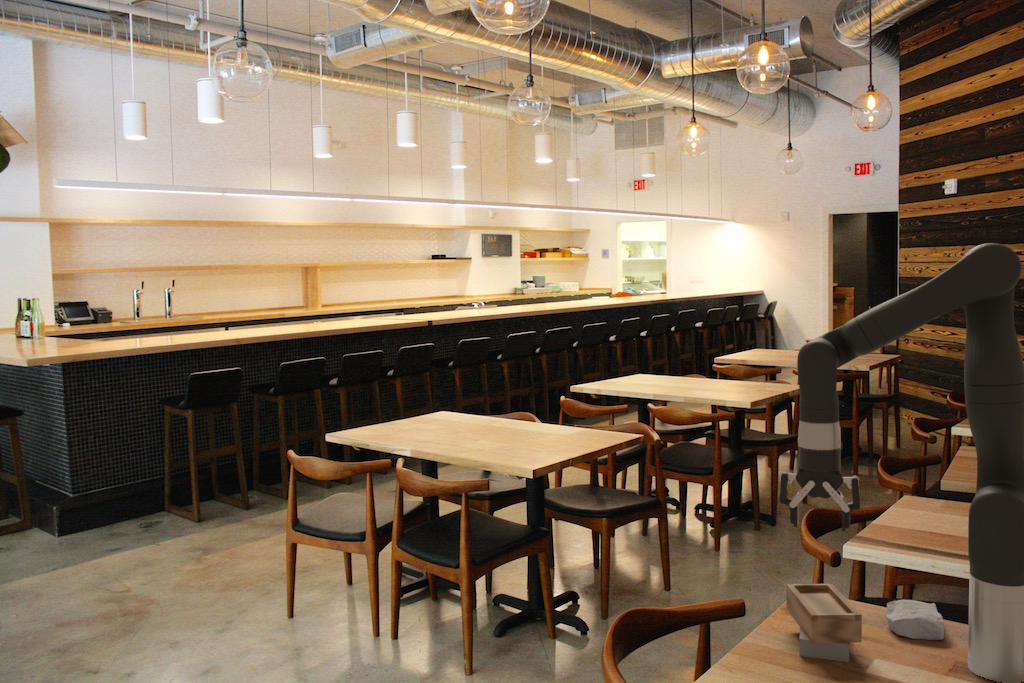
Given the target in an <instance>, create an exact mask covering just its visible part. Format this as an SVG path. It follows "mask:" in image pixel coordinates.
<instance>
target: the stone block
mask: <svg viewBox="0 0 1024 683" xmlns="http://www.w3.org/2000/svg"><path fill="white" fill-rule="evenodd" d="M885 619H886V620H887V624H888V627H889V629H890V630H891V631H892V632H893V633H895V634H896V635H898V636H900V637H901V636H903V637H906V638H909V639H911V640H912V639H914V640H928V641H943V640H944V638H945V633H944V632H945V622H944V617H943V616H942V614H941V613H940V612H938V609H937V605H936V604H935V603H934V602H933V603H928V602H924V601H918V600H915V599H898V600H893V601H889V602H887V603H886V610H885Z"/></svg>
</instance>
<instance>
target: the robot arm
mask: <svg viewBox="0 0 1024 683" xmlns="http://www.w3.org/2000/svg"><path fill="white" fill-rule="evenodd" d="M1022 270H1023V268H1022V261H1021V259H1020V257H1019V255H1018V254H1017V253H1016V251H1014V250H1013V249H1012V248H1011V247H1009V246H1007V245H1005V244H1001V243H994V242H987V243H981V244H979V245H976V246H974V247H972V248H970V249H969V250H968V251H967V252H965V253H964V255H963V256H962V257H961V258H960V259H959V260H958V261H956V262H955V263H954V264H952V265H951V266H949V268H947V269H946V270H944V271H943V272H942V273H940V274H938V275H937V276H935V277H934V278H932V279H930V280H928V281H926V282H924V283H923V284H921V285H920V286H917V287H915V288H913V289H911V290H909V291H907V292H905V293H902V294H899V295H898V296H895V297H893V298H891V299H888V300H886V301H884V302H883V303H879V304H878V305H876V306H874V307H872V308H869V309H868V310H866V311H864V312H862V313H861V314H859V315H857V316H855V317H853V318H852V319H850V320H848V321H847V322H846V323H843V325H841V326H839V327H837V328H834V329H832V330H829V331H828V332H826V333H824V334H821V335H819V336H817V337H815V338H813V339H810V340H809V341H807V342H806V343H805V344H804V345H803V346H802V347H800V349H799V351H798V353H797V357H796V358H797V361H796V364H797V368H796V369H797V379H798V388H799V420H798V421H799V422H798V423H799V424H798V429H797V430H798V431H797V432H798V433H797V434H798V435H797V436H798V437H797V447H798V454H797V455H798V458H797V459H798V461H797V462H798V466H797V467H798V468H797V473H796V472H795V473H792V472H789V471H788V470H783V471H782V473H781V475H780V486H779V488H780V490H779V503H780V504H781V505H786V506H788V507H789V522H790V524H792V525H793V527H794V528H799V525H800V523H799V519H800V518H799V517H800V516H799V514H800V513H799V512H800V511H799V504H800V503H801V502H802V501H803V499H804V498H805V497H806V496H808V497H810V498H822V499H827V500H828V499H829V498H832V499H833V501H834V502H835V503H836V504H837V505H838V506H839V507H840V509H841V532H847V530H848V529H850V526H851V512H852V511H855V510H856V511H858V510H860V509H861V491H860V490H861V489H860V478H859V476H858V475H856V474H854V475H852V476H843V475H842V471H841V470H842V462H841V461H842V459H841V458H842V457H841V456H842V455H841V454H842V453H841V452H842V451H841V450H842V449H841V448H842V447H841V445H842V442H841V441H842V440H841V428H840V427H841V426H840V401H839V395H838V393H837V388H838V386H837V384H838V383H837V382H838V381H837V380H838V375H837V374H838V368H841V367H842V366H844V365H846V364H848V363H849V362H851V361H854V360H855V359H857V358H858V357H861V356H866V355H868V354H870V353H871V354H872V353H873V352H876V351H878V350H879V349H881V348H884V347H885V346H887V345H889V344H891V343H893V342H895V341H898V340H899V339H901V338H903V337H905V336H906V335H908V334H910V333H912V332H914V331H915V330H917V329H918V328H920V327H923V326H925V325H927V323H930V322H931V321H933V320H935V319H937V318H939V317H942V316H943V315H945V314H947V313H950V312H952V311H955V310H957V309H959V308H962V307H963V308H964V309H963V310H964V315H965V326H966V332H965V345H964V356H963V357H964V361H963V383H964V400H965V401H964V402H965V410H966V415H967V420H968V425H969V428H970V431H971V436H972V439H973V443H974V447H975V452H976V462H977V464H976V484H975V486H976V487H975V493H974V495H975V496H974V497H973V499H972V501H971V503H970V506H969V509H968V522H967V523H968V531H967V532H968V533H967V534H968V539H967V540H968V542H967V543H968V544H967V545H968V546H967V547H968V549H967V554H968V556H967V557H968V561H969V575H968V576H969V585H968V586H969V587H968V588H969V589H968V629H967V630H968V631H967V632H968V634H967V636H968V638H967V667H968V670H969V671H970V672H971V673H973V674H974V675H975V676H977V675H978V676H977V677H979V676H981V677H980V678H982V677H984V678H986V679H985V680H987V679H991V680H995V681H1000V682H1006V683H1017V682H1021V681H1024V360H1023V356H1022V355H1023V354H1022V351H1021V347H1020V342H1019V339H1018V336H1017V331H1016V326H1015V317H1014V316H1015V313H1014V311H1015V309H1014V308H1015V288H1016V285H1017V283H1018V282H1019V280H1020V278H1021V275H1022ZM794 480H795V481H796V482H797V484H798V485H799V486H800V489H799V490H798V491H797V493H796V494H795V495H794V496H793V497H789V496H788V494H789V485H792V483H793V481H794ZM843 484H846V486H847V488H848V489H849V490H851V495H852V501H850V502H848V501H847V499H846V498H845V497H844V494H843V493H842V492H841V490H840V488H841V487H842V485H843ZM984 678H983V679H984Z"/></svg>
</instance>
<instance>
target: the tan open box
mask: <svg viewBox="0 0 1024 683" xmlns="http://www.w3.org/2000/svg"><path fill="white" fill-rule="evenodd" d="M785 606H786V611H787V612H788V613H789V615H790V616H791V617H792V619H793V620H794V622H796V624H797V625H798V627H799V629H800V628H801V629H802V631H803V632H804V633H805V635H806V636H807V637H808V639H809V640H810V641H811V643H846V642H849V643H862V635H863V634H862V632H863V631H862V628H863V626H862V625H863V619H862V618H863V616H862V615H863V614H862V613H861V612H860V611H859V610H858V609H857V608H856V607H855V606H854V605H853V604H852V603H851V602H850V601H849V600H848V599H847V598H846V596H845V595H843V593H842V592H840V591H839V589H837V587H835V585H834V584H833V583H790V584H789V583H788V584H787V583H786V605H785Z"/></svg>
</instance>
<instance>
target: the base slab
mask: <svg viewBox="0 0 1024 683" xmlns="http://www.w3.org/2000/svg"><path fill="white" fill-rule="evenodd" d="M799 657H807V658H813V659H814V658H815V659H822V660H828V661H838V662H846V663H850V642H846V643H811V641H810V640H809V639H808V637H807V636H806V635H805V633H804V632H803V631H802V629H801V628H800V627H799Z"/></svg>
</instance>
